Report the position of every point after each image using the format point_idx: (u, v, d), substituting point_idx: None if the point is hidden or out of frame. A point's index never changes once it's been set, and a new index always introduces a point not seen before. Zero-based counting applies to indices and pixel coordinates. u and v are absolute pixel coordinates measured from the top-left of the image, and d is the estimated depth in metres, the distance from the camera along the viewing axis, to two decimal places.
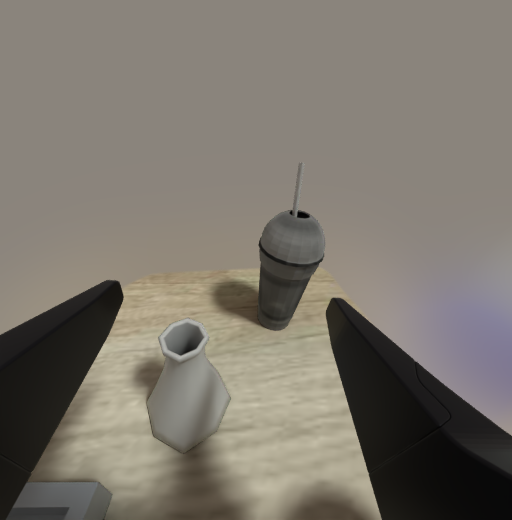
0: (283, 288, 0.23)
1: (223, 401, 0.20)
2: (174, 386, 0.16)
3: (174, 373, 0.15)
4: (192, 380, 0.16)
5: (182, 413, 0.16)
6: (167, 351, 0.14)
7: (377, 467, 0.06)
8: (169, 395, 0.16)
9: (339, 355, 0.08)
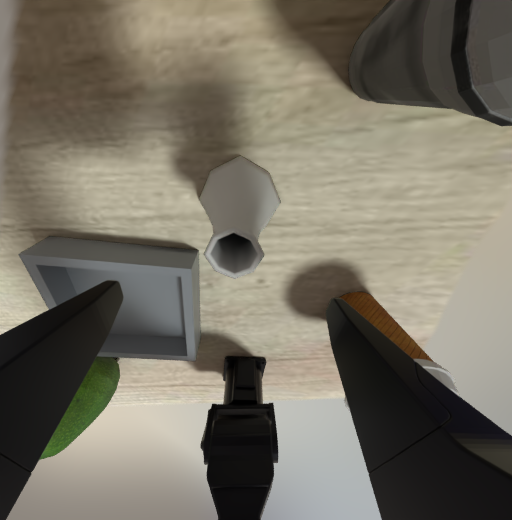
0: (429, 103, 0.10)
1: (273, 213, 0.20)
2: None
3: None
4: None
5: (237, 242, 0.18)
6: (219, 270, 0.13)
7: (377, 467, 0.06)
8: (224, 238, 0.17)
9: (339, 355, 0.08)
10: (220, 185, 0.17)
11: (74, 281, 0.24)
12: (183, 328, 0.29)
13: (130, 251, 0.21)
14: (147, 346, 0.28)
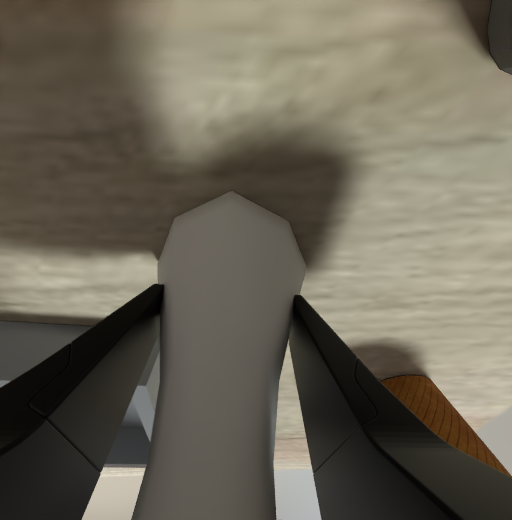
0: None
1: None
2: None
3: None
4: None
5: None
6: None
7: (318, 467, 0.06)
8: None
9: (294, 353, 0.08)
10: (187, 264, 0.08)
11: None
12: None
13: (45, 344, 0.13)
14: None
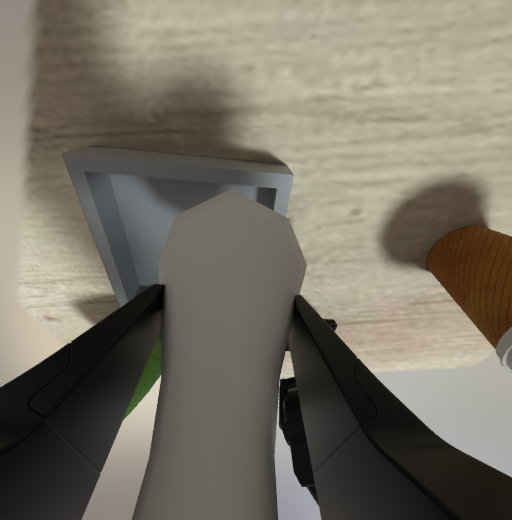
0: None
1: None
2: None
3: None
4: None
5: None
6: None
7: (318, 467, 0.06)
8: None
9: (294, 352, 0.08)
10: (188, 261, 0.08)
11: (123, 214, 0.19)
12: None
13: (204, 160, 0.16)
14: None
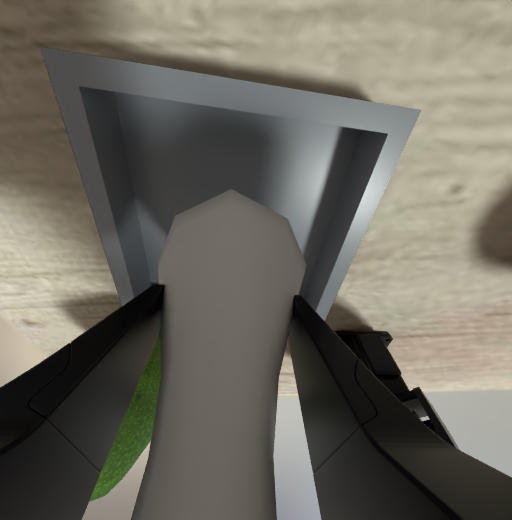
0: None
1: None
2: None
3: None
4: None
5: None
6: None
7: (318, 467, 0.06)
8: None
9: (294, 352, 0.08)
10: (187, 261, 0.08)
11: (136, 178, 0.13)
12: None
13: None
14: None
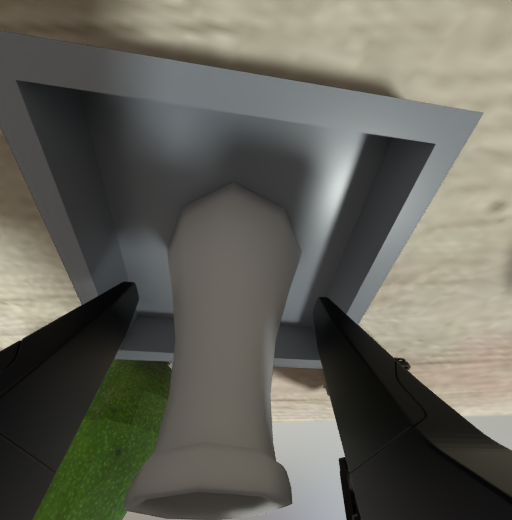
0: None
1: None
2: None
3: None
4: None
5: None
6: (174, 517, 0.05)
7: (357, 467, 0.06)
8: None
9: (324, 354, 0.08)
10: (196, 244, 0.09)
11: (113, 195, 0.11)
12: (305, 308, 0.16)
13: None
14: None
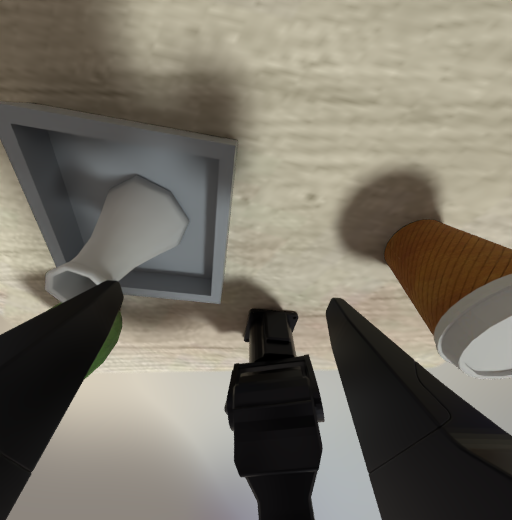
0: None
1: (179, 233, 0.19)
2: None
3: None
4: None
5: None
6: None
7: (377, 466, 0.06)
8: None
9: (339, 355, 0.08)
10: (107, 208, 0.16)
11: (67, 180, 0.18)
12: (205, 263, 0.23)
13: (147, 126, 0.15)
14: (159, 282, 0.22)
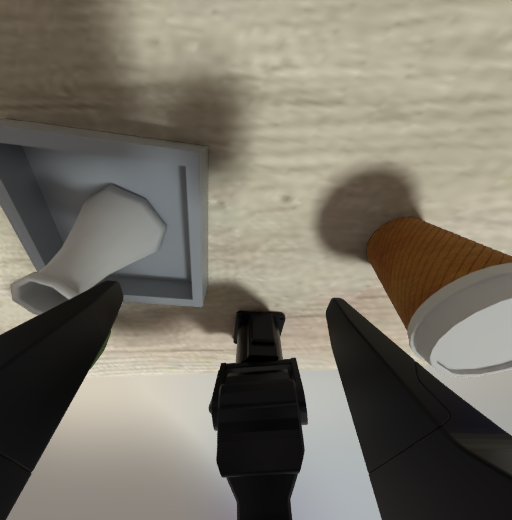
0: None
1: (156, 239, 0.20)
2: None
3: None
4: None
5: None
6: (38, 313, 0.13)
7: (376, 467, 0.06)
8: None
9: (339, 355, 0.08)
10: (81, 217, 0.17)
11: (45, 192, 0.18)
12: (187, 267, 0.23)
13: (116, 136, 0.16)
14: (142, 288, 0.23)
